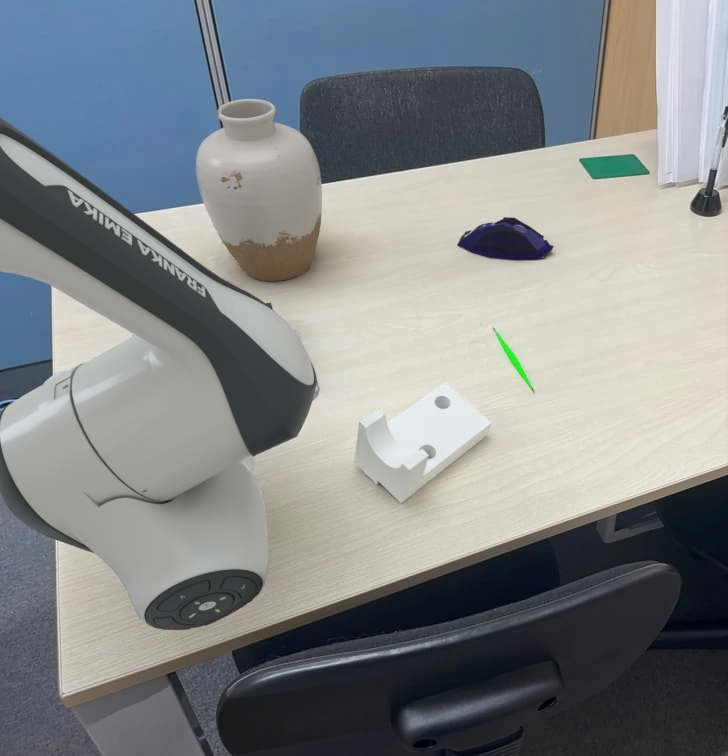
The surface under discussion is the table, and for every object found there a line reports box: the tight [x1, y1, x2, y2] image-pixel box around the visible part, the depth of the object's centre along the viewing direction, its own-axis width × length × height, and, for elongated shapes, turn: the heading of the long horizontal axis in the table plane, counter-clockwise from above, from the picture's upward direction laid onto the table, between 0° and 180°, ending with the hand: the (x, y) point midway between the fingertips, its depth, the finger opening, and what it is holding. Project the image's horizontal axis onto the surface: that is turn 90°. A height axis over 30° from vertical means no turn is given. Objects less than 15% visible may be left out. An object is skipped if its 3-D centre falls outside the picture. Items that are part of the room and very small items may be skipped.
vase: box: [195, 98, 323, 282], centre depth 97 cm, size 16×16×23 cm
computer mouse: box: [456, 216, 554, 261], centre depth 109 cm, size 9×15×4 cm, turn 74°
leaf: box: [492, 327, 536, 393], centre depth 90 cm, size 1×14×1 cm, turn 22°
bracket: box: [353, 381, 492, 504], centre depth 74 cm, size 13×7×8 cm, turn 139°
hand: (178, 331), depth 64 cm, fingers closed on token, 4 cm apart
